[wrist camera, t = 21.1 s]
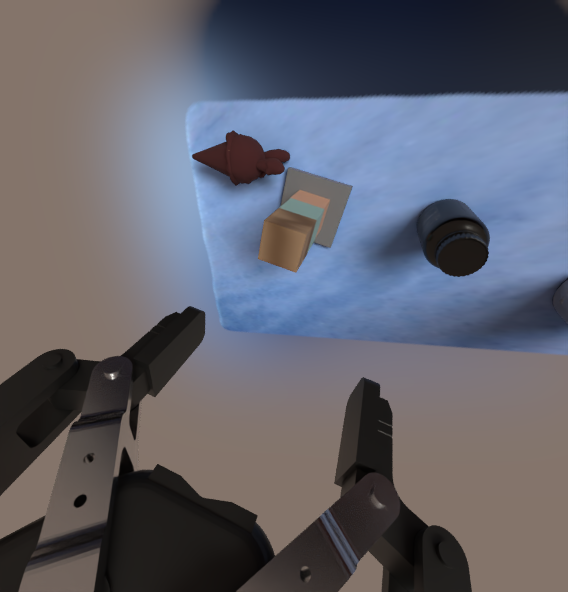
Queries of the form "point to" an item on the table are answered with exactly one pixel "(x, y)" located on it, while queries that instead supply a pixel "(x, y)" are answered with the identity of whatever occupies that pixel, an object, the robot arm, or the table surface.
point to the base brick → (313, 202)
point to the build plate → (322, 188)
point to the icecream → (243, 159)
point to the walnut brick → (286, 239)
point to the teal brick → (305, 213)
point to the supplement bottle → (453, 237)
